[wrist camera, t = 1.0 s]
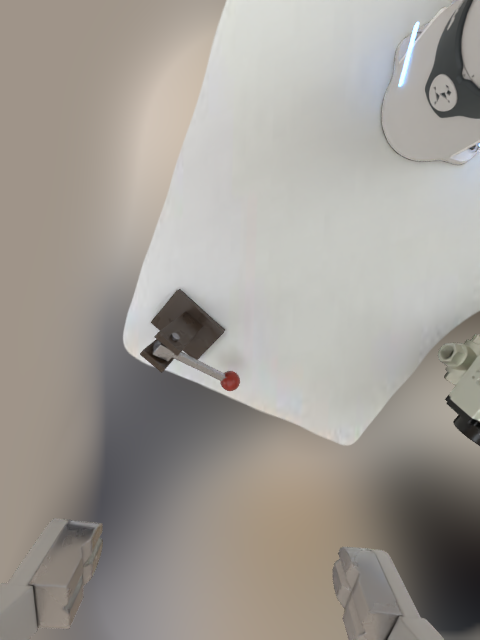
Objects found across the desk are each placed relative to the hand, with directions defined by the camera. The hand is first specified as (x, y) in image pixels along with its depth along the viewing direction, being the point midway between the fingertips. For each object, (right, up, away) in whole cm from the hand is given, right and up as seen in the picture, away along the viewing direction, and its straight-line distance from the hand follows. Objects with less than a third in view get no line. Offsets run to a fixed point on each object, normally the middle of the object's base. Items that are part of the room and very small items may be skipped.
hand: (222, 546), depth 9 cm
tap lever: (-6, +1, +36) cm, 37 cm away
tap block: (-10, +7, +43) cm, 44 cm away
